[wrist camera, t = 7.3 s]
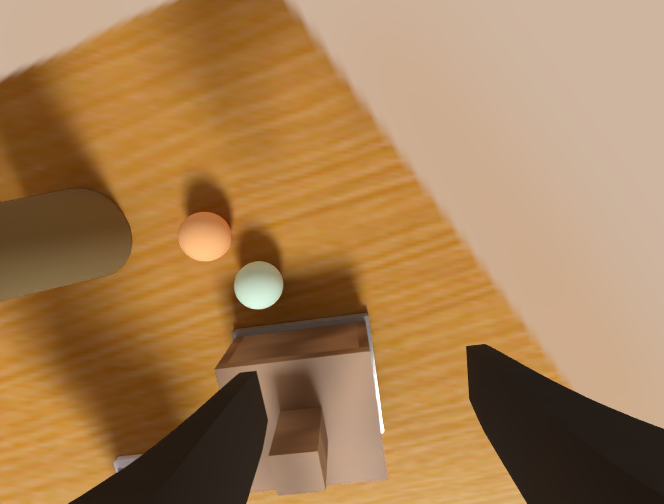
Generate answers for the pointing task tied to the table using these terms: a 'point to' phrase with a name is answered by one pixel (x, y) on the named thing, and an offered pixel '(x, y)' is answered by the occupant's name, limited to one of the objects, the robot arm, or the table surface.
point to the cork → (60, 241)
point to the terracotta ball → (204, 236)
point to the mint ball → (258, 285)
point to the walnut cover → (313, 406)
